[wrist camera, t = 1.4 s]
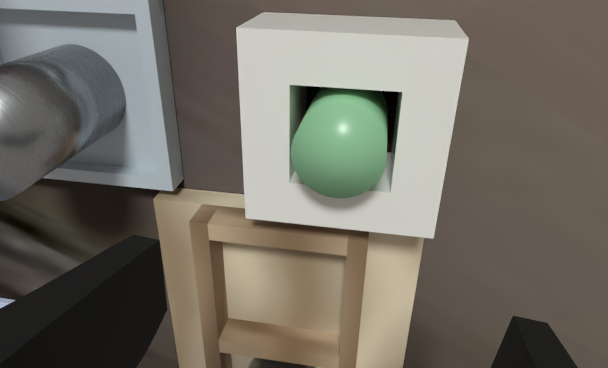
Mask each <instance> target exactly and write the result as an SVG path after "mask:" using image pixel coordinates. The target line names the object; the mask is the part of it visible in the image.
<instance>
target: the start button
mask: <svg viewBox="0 0 608 368" xmlns="http://www.w3.org/2000/svg"><path fill="white" fill-rule="evenodd" d="M387 133H388V106H387V102H386V100H385V97H384V96H383V94H382V92H381V91H378V90H362V89H347V88H332V87H321V88H320V89H319V90H318V91H317V93H316V95H315V96H314V98H313V100H312V102H311V104H310V106H309V108H308V110H307V112H306V114H305V116H304V118H303V120H302V122H301V124H300V126H299V128H298V130H297V132H296V134H295V136H294V138H293V141H292V146H291V159H292V164H293V167H294V169H295V171H296V173H297V175H298V176H299V178H300V179H301V180H302V182H303V183H304V184H305V185H307V186H308V187H309V188H310V189H312V190H313V191H315V192H317V193H319V194H321V195H324V196H327V197H332V198H350V197H354V196H357V195H360V194H362V193H364V192H366V191H368V190H369V189H370V188H372V187H373V186H374V185H375V184H376V183H377V182H378V180H379V179H380V178H381V176H382V174H383V172H384V169H385V166H386V161H387Z"/></svg>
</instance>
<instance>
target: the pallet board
mask: <svg viewBox="0 0 608 368" xmlns="http://www.w3.org/2000/svg"><path fill="white" fill-rule="evenodd" d="M153 200H154V207H155V213H156V220H157V226H158V233H159V239H160V246H161V252H162V259H163V265H164V272H165V278H166V285H167V291H168V297H169V304H170V310H171V317H172V323H173V330H174V336H175V343H176V349H177V356H178V362H179V368H248V367H249V364H250V362H251V360H252V359H253V358H254V357H255V358H262V359H268V360H275V361H282V362H288V363H295V364H301V365H308V366H315V367H316V368H403V362H404V356H405V350H406V344H407V338H408V332H409V326H410V320H411V314H412V308H413V302H414V296H415V290H416V284H417V278H418V272H419V266H420V260H421V254H422V248H423V241H424V238H423V237H414V236H405V235H396V234H386V233H377V232H368V231H358V230H349V229H340V228H331V227H321V226H312V225H303V224H293V223H284V222H275V221H266V220H256V219H247V218H246V216H245V196H244V194H234V193H224V192H214V191H204V190H194V189H184V188H175V190H174V191H165V190H161V191H160V192H159V193H158V194H157V195H156V196H155V198H154V199H153Z"/></svg>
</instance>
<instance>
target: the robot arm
mask: <svg viewBox="0 0 608 368" xmlns="http://www.w3.org/2000/svg"><path fill="white" fill-rule="evenodd" d="M166 311H167V303H166V294H165V285H164V276H163V267H162V258H161V249H160V240H156V239H151V238H147V237H142V236H137V235H132V236H130V237H128V238H126V239H124V240H123V241H121V242H119V243H117V244H115V245H114V246H112V247H110V248H108V249H106V250H105V251H103V252H101V253H100V254H98V255H96V256H94V257H93V258H91V259H89V260H87V261H86V262H84V263H82V264H80V265H79V266H77V267H75V268H74V269H72V270H70V271H68V272H66V273H65V274H63V275H61V276H59V277H58V278H56V279H54V280H52V281H50V282H49V283H47V284H45V285H43V286H42V287H40V288H38V289H36V290H34V291H33V292H31V293H29V294H27V295H25V296H23V297H21V298H19V299H17V300H12V299H5V298H0V368H136V367H137V366H138V364H139V362H140V361H141V359H142V358H143V356H144V355H145V353H146V351H147V349H148V347H149V346H150V344H151V342H152V340H153V338H154V336H155V334H156V332H157V330H158V328H159V326H160V324H161V322H162V319H163V317H164V315H165V313H166ZM491 368H578V367H577V366H576V364H575V363H574V361H573V360H572V359H571V357H570V356H569V354H568V353H567V351H566V350H565V348H564V347H563V345H562V344H561V342H560V341H559V339H558V338H557V336H556V335H555V333H554V332H553V331H552V329H551V328H550V326H549V325H548V323H545V322H540V321H535V320H531V319H526V318H521V317H516V316H513V317H512V319H511V322H510V324H509V326H508V329H507V331H506V333H505V336H504V338H503V340H502V343H501V345H500V347H499V350H498V352H497V354H496V357H495V359H494V361H493V364H492V366H491Z"/></svg>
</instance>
